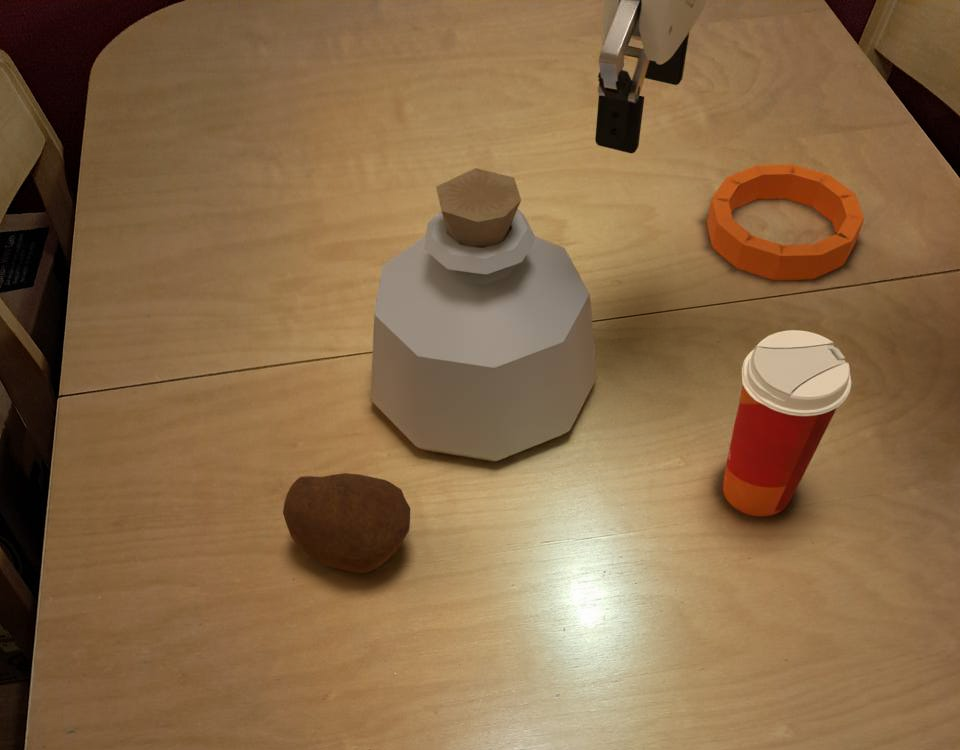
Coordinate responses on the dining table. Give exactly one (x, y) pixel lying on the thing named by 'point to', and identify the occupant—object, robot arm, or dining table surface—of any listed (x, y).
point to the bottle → (481, 329)
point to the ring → (794, 187)
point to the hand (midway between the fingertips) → (639, 112)
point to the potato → (347, 519)
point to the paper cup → (782, 417)
